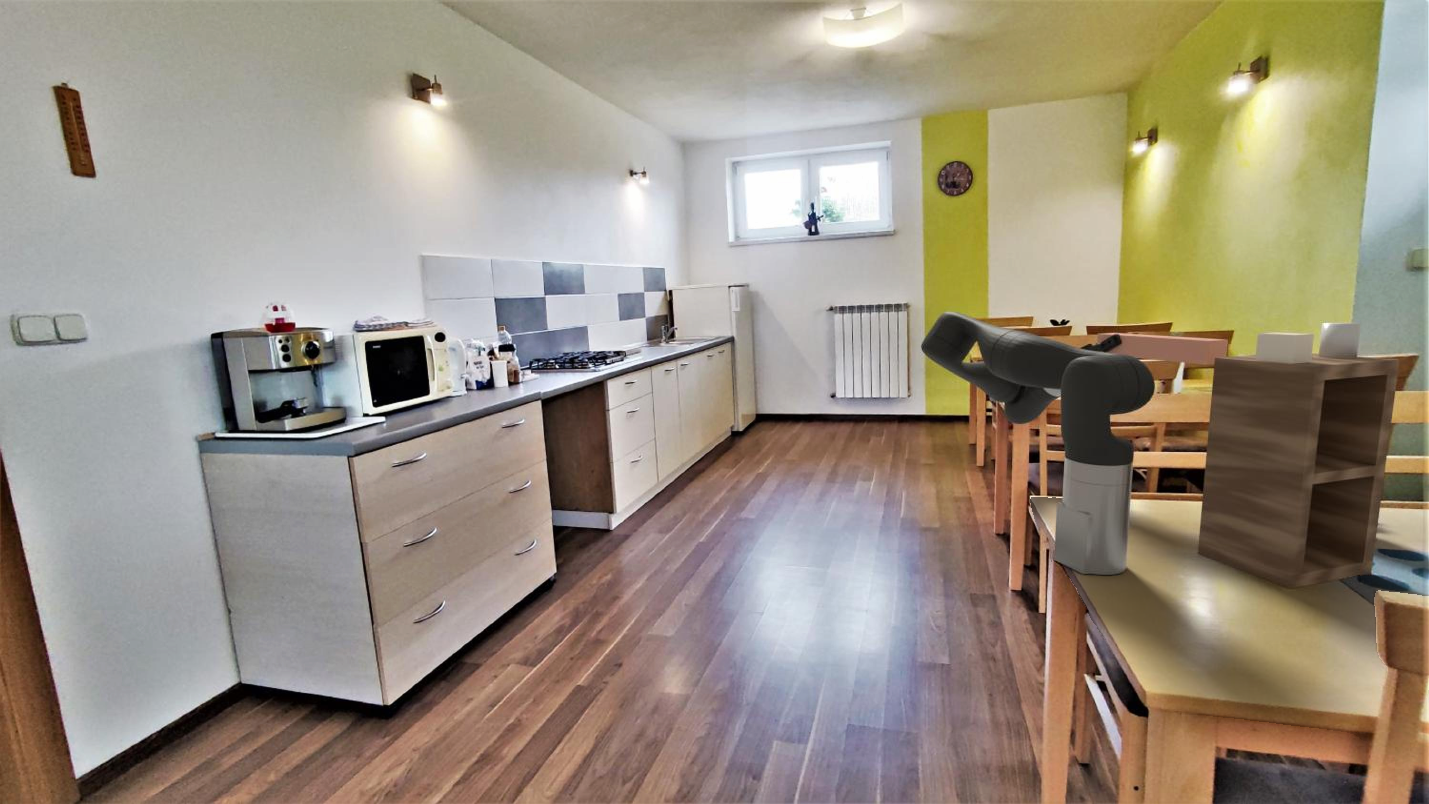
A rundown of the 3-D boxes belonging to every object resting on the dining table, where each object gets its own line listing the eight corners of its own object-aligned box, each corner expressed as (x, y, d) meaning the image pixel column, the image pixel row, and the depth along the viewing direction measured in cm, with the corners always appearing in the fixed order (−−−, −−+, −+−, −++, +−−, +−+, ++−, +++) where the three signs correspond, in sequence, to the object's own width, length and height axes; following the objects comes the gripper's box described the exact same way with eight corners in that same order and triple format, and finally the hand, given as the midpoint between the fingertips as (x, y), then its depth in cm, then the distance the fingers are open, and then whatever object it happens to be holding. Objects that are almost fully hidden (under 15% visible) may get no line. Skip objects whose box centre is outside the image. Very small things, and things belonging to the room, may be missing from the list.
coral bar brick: (1207, 364, 111) (1209, 340, 111) (1096, 353, 133) (1097, 333, 132) (1225, 363, 112) (1227, 339, 112) (1112, 352, 134) (1114, 332, 133)
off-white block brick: (1291, 363, 94) (1294, 335, 93) (1255, 360, 99) (1257, 333, 98) (1310, 362, 95) (1314, 333, 94) (1273, 359, 100) (1276, 332, 99)
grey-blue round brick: (1343, 359, 97) (1347, 324, 96) (1311, 356, 101) (1314, 323, 100) (1364, 357, 98) (1368, 323, 97) (1331, 355, 102) (1335, 322, 101)
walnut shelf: (1290, 588, 95) (1315, 366, 90) (1197, 552, 109) (1214, 357, 104) (1371, 573, 99) (1399, 359, 94) (1272, 540, 113) (1292, 352, 108)
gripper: (1034, 359, 143) (1091, 322, 127) (1089, 356, 146) (1151, 318, 131) (1045, 392, 140) (1105, 357, 125) (1101, 387, 144) (1166, 353, 128)
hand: (1128, 338), depth 128 cm, fingers closed on coral bar brick, 4 cm apart
